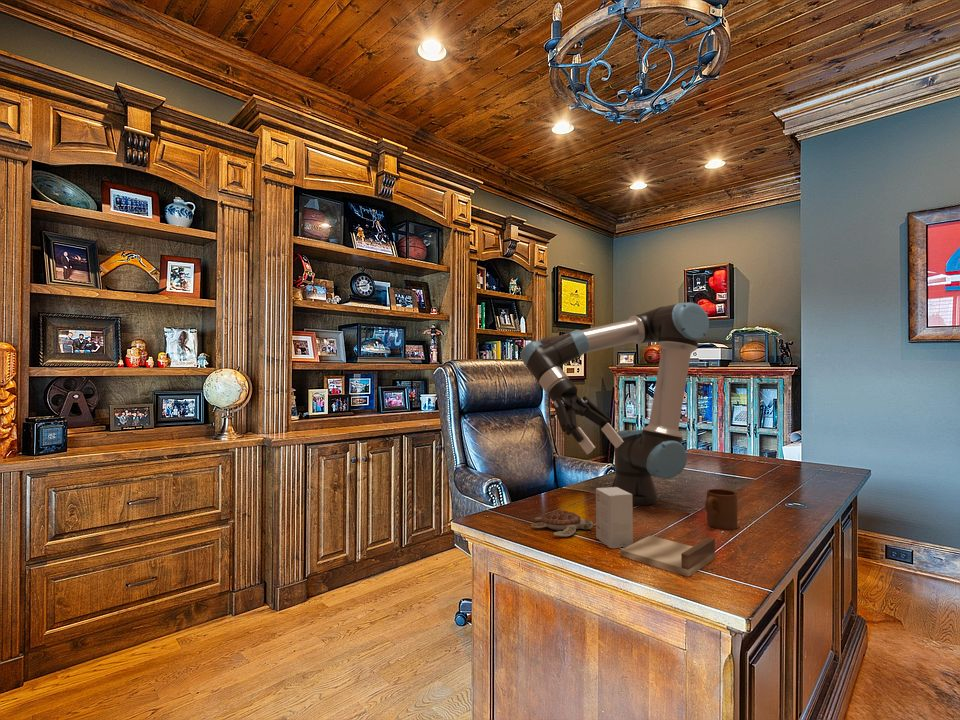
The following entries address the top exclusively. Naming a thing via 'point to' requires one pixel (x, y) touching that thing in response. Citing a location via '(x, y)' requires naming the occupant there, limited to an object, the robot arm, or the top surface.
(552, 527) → the decorative turtle
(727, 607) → the top surface
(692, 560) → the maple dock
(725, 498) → the mug
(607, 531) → the small box
